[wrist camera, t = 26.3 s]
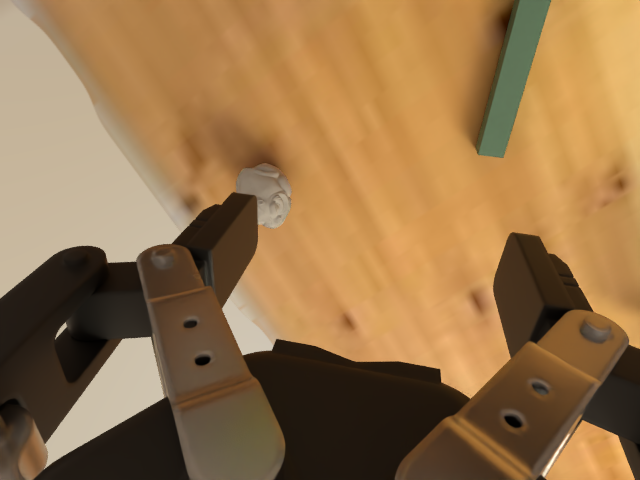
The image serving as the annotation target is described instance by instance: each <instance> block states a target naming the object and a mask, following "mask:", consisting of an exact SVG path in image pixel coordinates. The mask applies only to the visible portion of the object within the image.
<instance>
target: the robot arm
mask: <svg viewBox="0 0 640 480" xmlns="http://www.w3.org/2000/svg"><path fill="white" fill-rule="evenodd" d="M257 242H258V206H257V197H256V196H255V195H250V194H243V193H236V192H233V193H231V195H230V196H229V197H228V198H227V199H226V200H225V201H224V202H223V204H222V205H217V204H215V205H213V206H211V207H209V208H207V209H205V210H203V211H202V212H201V213H200V214H199V215H198V216H197V217H196V220H193V222H192V223H191V224H190V226H188V227H187V228H186V229H185V230H184V231H183V232H182V233H181V234H180V235H179V236H178V237H177V239H176V240H175V241H174V242H173V243H172V244H163V245H157V246H154V247H151V248H148V249H147V250H145V251H143V252H142V253H141V254H140V255H139V256H138V257H137V260H136V261H137V262H120V263H107V258H106V254H105V252H104V251H103V250H102V249H100V248H98V247H93V246H78V247H72V248H69V249H65V250H63V251H60V252H58V253H57V254H55V255H53V256H52V257H51V258H49V259H48V260H47V261H46V262H44V263H43V264H42V265H41V266H40V267H38V268H37V269H36V270H35V271H33V272H32V273H31V274H30V275H29V276H27V277H26V278H25V279H24V280H23V281H21V282H20V283H19V284H18V285H16V286H15V287H14V288H13V289H12V290H10V291H9V292H8V293H7V294H6V295H4V296H3V297H2V298H1V299H0V480H546V479H545V477H546V475H547V474H548V472H549V471H550V469H551V468H552V466H553V465H554V463H555V461H556V460H557V458H558V457H559V455H560V454H561V452H562V451H563V449H564V448H565V446H566V445H567V443H568V442H569V440H570V439H571V437H572V436H573V434H574V433H575V431H576V430H577V428H578V427H579V425H580V424H581V422H582V420H584V421H586V422H589V423H591V424H593V425H595V426H598V427H600V428H602V429H605V430H607V431H609V432H612V433H614V434H616V435H618V436H619V440H620V442H621V445H622V447H623V450H624V452H625V455H626V457H627V460H628V463H629V465H630V468H631V470H632V473H633V475H634V478H635V480H640V349H638V348H635V347H633V346H631V345H628V344H629V339H628V336H627V334H626V333H625V332H624V330H623V329H622V328H621V327H620V326H618V325H617V324H616V323H615V322H613V321H612V320H610V319H608V318H606V317H604V316H602V315H600V314H597V313H594V312H593V310H592V308H591V306H590V305H589V303H588V301H587V299H586V297H585V296H584V294H583V292H582V290H581V288H579V287H578V286H579V285H578V283H577V281H576V280H575V278H573V277H574V276H573V274H572V272H571V271H570V269H569V267H568V265H567V264H565V263H564V262H563V261H562V260H561V259H559V258H558V257H557V256H556V255H555V254H548V253H547V251H546V249H545V247H544V245H543V243H542V241H541V239H540V237H539V236H535V235H528V234H521V233H514V232H512V233H511V234H510V235H509V237H508V239H507V242H506V245H505V248H504V251H503V254H502V256H501V259H500V262H499V265H498V268H497V271H496V274H495V278H494V285H493V291H494V297H495V300H496V304H497V308H498V312H499V315H500V319H501V323H502V327H503V330H504V334H505V338H506V342H507V345H508V349H509V353H510V357H511V359H510V360H509V361H508V362H507V363H506V364H505V365H504V366H503V367H502V368H501V369H500V370H499V371H498V372H497V373H496V374H495V375H494V376H493V377H492V378H491V379H490V380H489V381H488V382H487V383H486V384H485V385H484V386H483V387H482V388H481V389H480V390H479V391H478V392H477V393H476V394H475V395H474V396H473V397H472V398H471V399H470V398H468V397H467V396H466V395H464V394H462V393H461V392H459V391H458V390H456V389H454V388H452V387H450V386H448V385H446V384H444V383H441V373H440V369H436V368H431V367H426V366H420V365H415V364H409V363H404V362H355V361H351V360H349V359H346V358H344V357H341V356H339V355H336V354H334V353H331V352H329V351H326V350H324V349H321V348H319V347H316V346H312V345H306V344H301V343H296V342H290V341H285V340H279V339H276V341H275V344H274V347H273V349H272V351H261V352H254V353H250V354H246V355H243V356H242V353H241V351H240V349H239V347H238V344H237V342H236V340H235V338H234V335H233V333H232V331H231V329H230V327H229V324H228V322H227V320H226V318H225V315H224V313H223V311H222V308H223V306H224V304H225V303H226V301H227V299H228V298H229V296H230V294H231V293H232V291H233V289H234V288H235V286H236V284H237V283H238V281H239V279H240V278H241V276H242V274H243V273H244V271H245V269H246V267H247V266H248V264H249V262H250V261H251V259H252V257H253V256H254V254H255V251H256V248H257ZM65 322H66V324H67V328H66V329H65V330H64V331H63V332H62V333H61V334H60V335H59V336H58V337H57V338H56V339H55V337H56V334H57V332H58V330H59V329H60V327H61V326H62V325H63V324H64V323H65ZM138 337H139V338H140V337H151V340H152V345H153V349H154V353H155V358H156V362H157V366H158V371H159V376H160V380H161V384H162V389H163V394H164V399H162V400H160V401H158V402H157V403H155V404H153V405H151V406H150V407H148V408H146V409H144V410H143V411H141V412H139V413H137V414H136V415H134V416H132V417H131V418H129V419H127V420H125V421H124V422H122V423H120V424H118V425H117V426H115V427H113V428H111V429H110V430H108V431H106V432H104V433H103V434H101V435H100V436H97V437H96V438H94V439H92V440H90V441H89V442H87V443H85V444H84V445H82V446H80V447H78V448H76V449H75V450H73V451H71V452H69V453H68V454H66V455H64V456H63V457H61V458H60V459H58V460H56V461H55V462H53V463H52V464H51V465H49V466H48V467H47V468H45V466H46V463H47V458H48V451H47V448H46V446H45V443H46V442H47V441H48V439H49V438H50V437H51V435H52V434H53V433H54V431H55V430H56V429H57V427H58V426H59V424H60V423H61V422H62V420H63V419H64V418H65V416H66V415H67V414H68V412H69V411H70V410H71V408H72V407H73V405H74V404H75V403H76V401H77V400H78V398H79V397H80V396H81V395H82V393H83V392H84V391H85V389H86V388H87V386H88V385H89V384H90V382H91V381H92V380H93V378H94V377H95V375H96V374H97V373H98V372H99V370H100V369H101V367H102V366H103V365H104V363H105V362H106V360H107V359H108V358H109V357H110V355H111V354H112V353H113V351H114V350H115V348H116V347H117V346H118V344H119V343H120V341H121V340H122V339H125V338H138ZM44 468H45V469H44Z"/></svg>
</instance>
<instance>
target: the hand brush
mask: <svg viewBox="0 0 640 480" xmlns="http://www.w3.org/2000/svg"><path fill="white" fill-rule="evenodd" d="M550 2H551V0H515V1H514V4H513V8H512V12H511V16H510V20H509V23H508V27H507V31H506V35H505V38H504V42H503V46H502V50H501V54H500V57H499V61H498V65H497V69H496V73H495V76H494V80H493V84H492V88H491V91H490V95H489V99H488V103H487V107H486V110H485V114H484V118H483V122H482V125H481V129H480V133H479V137H478V141H477V144H476V151H477V153H478V155H484V156H492V157H500V158H503V157H504V154H505V151H506V147H507V144H508V141H509V137H510V134H511V131H512V127H513V124H514V121H515V118H516V114H517V111H518V108H519V104H520V101H521V98H522V94H523V91H524V88H525V85H526V81H527V78H528V75H529V71H530V68H531V65H532V61H533V58H534V55H535V52H536V48H537V45H538V42H539V38H540V35H541V32H542V28H543V25H544V22H545V19H546V15H547V12H548V9H549V5H550Z"/></svg>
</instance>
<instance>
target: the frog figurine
mask: <svg viewBox="0 0 640 480" xmlns="http://www.w3.org/2000/svg"><path fill="white" fill-rule="evenodd" d="M236 192H237V193H243V194H250V195H255V196H256V197H257V206H258V225H260V224H262V225H263V226H265V227H268V228H273V229H274V228H277V227H279V226H280V225H281V224H282V223H283V222H284V220H285V219H286V217H287V215H288V213H289V211H290V208H291V198H290V197H289V196H291V193H292V191H291V186H290V184H289V182H288V179H287V178H286V176H285V175H284V173H283V172H282V171H281V170H280V169H278V168H277V167H275V166H273V165H270V164H268V163H263V164H260V165H257V166H256V167H254V168H243V169H242V171H241V172H240V174H239V175H238V178H237V181H236Z"/></svg>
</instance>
